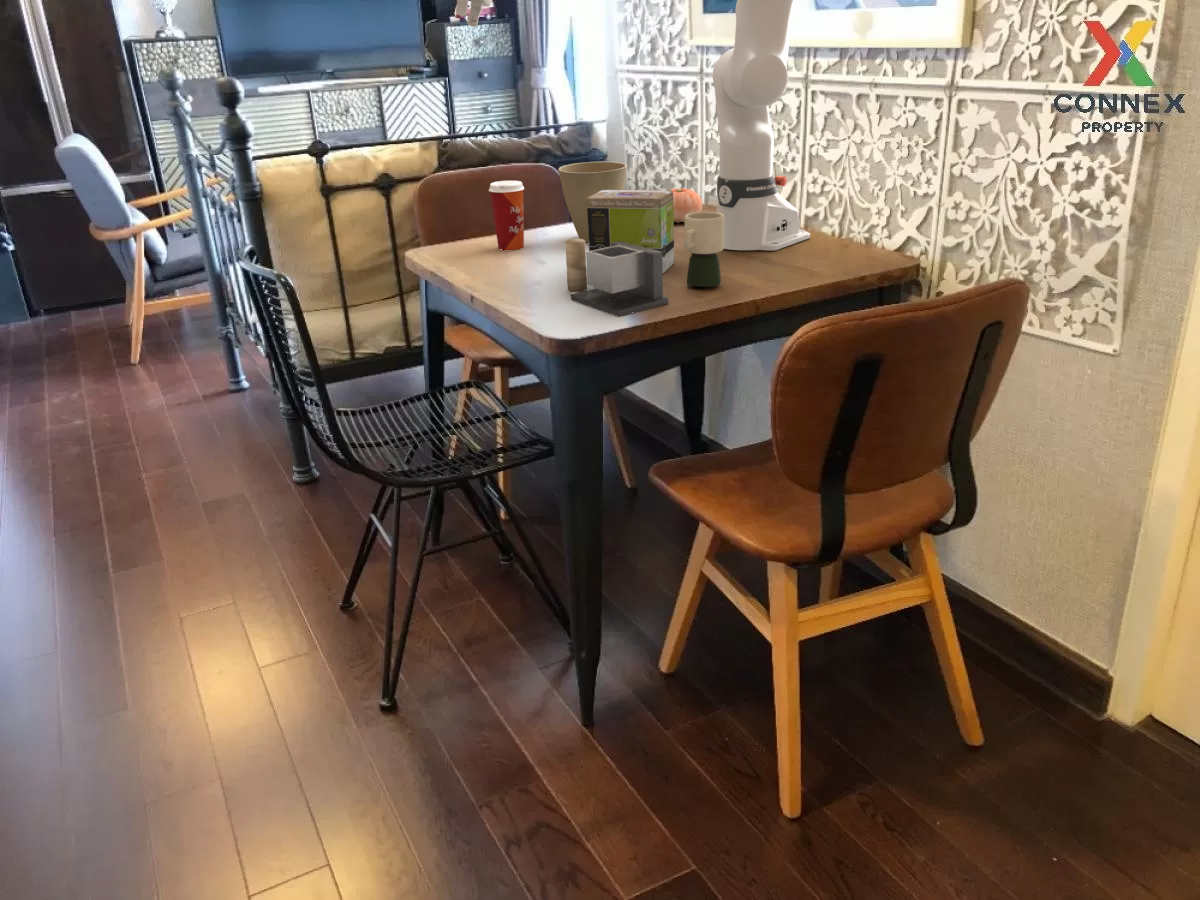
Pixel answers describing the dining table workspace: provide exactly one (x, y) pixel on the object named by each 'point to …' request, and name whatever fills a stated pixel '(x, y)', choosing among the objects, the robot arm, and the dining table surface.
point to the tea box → (633, 220)
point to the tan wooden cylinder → (576, 265)
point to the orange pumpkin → (685, 203)
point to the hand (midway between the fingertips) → (466, 20)
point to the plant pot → (588, 187)
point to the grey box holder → (623, 279)
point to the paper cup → (508, 213)
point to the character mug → (704, 247)
